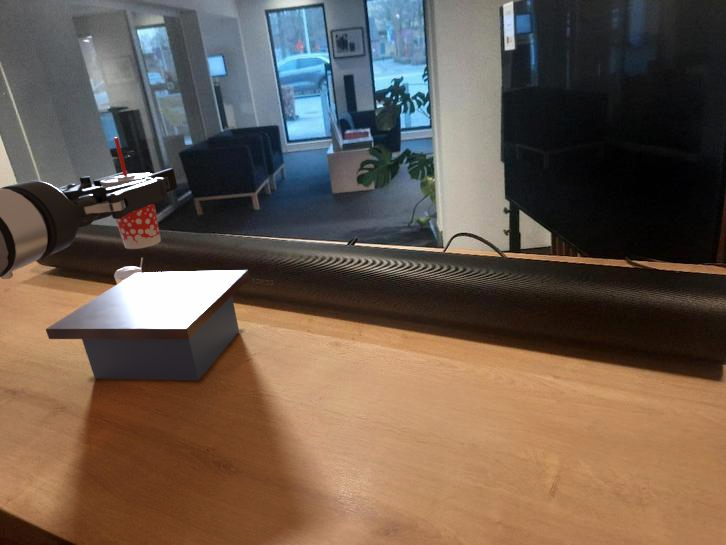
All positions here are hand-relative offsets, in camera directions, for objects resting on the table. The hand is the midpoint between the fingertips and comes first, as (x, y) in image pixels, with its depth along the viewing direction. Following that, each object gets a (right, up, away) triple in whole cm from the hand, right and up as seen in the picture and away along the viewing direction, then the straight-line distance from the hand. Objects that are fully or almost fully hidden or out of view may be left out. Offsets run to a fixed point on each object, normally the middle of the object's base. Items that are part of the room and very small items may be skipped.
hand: (150, 179), depth 69 cm
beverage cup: (0, -9, -2) cm, 9 cm away
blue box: (+1, -25, +6) cm, 26 cm away
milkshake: (-11, -21, +21) cm, 32 cm away
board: (0, -18, +3) cm, 18 cm away
